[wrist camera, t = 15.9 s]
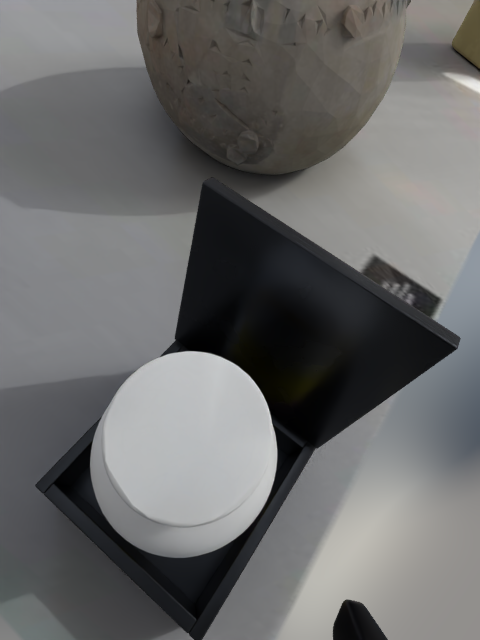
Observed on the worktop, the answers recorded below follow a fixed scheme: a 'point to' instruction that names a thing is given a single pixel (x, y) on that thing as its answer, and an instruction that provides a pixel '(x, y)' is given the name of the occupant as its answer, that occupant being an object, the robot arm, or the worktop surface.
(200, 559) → the black open box
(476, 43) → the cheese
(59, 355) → the worktop surface
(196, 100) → the bowl
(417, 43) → the worktop surface
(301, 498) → the worktop surface
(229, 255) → the lid
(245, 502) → the supplement bottle
